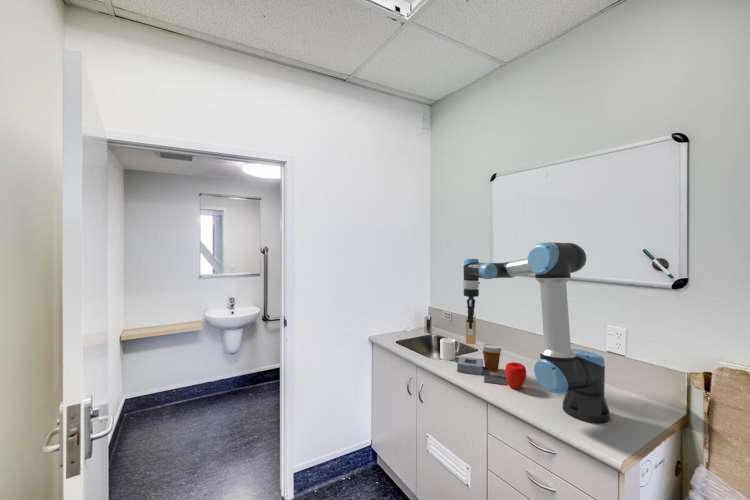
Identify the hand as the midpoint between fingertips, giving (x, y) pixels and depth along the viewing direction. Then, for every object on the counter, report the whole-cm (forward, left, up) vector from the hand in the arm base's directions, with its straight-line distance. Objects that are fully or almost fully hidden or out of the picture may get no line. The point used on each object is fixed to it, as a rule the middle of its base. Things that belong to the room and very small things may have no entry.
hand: (471, 333), depth 167 cm
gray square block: (0, 0, -18) cm, 18 cm away
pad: (-10, -12, -18) cm, 24 cm away
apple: (-16, -20, -19) cm, 32 cm away
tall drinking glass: (0, 0, -5) cm, 5 cm away
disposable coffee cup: (+4, -10, -19) cm, 21 cm away
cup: (+15, +12, -19) cm, 27 cm away
